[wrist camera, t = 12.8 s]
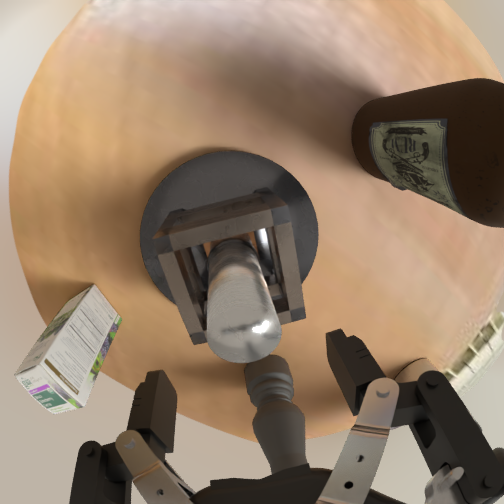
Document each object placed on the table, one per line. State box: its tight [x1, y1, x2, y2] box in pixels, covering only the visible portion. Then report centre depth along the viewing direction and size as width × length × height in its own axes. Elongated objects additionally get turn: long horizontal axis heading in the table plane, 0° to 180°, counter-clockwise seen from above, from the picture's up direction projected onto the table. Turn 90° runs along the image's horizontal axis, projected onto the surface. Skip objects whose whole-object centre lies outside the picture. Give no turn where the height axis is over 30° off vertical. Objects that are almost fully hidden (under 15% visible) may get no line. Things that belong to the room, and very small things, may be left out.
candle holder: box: [244, 355, 307, 474], centre depth 25 cm, size 6×6×25 cm
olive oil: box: [352, 78, 504, 228], centre depth 15 cm, size 11×11×25 cm
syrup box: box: [14, 284, 122, 414], centre depth 23 cm, size 6×6×14 cm
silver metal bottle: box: [207, 233, 282, 363], centre depth 21 cm, size 4×4×14 cm
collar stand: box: [140, 151, 318, 345], centre depth 24 cm, size 18×18×10 cm
